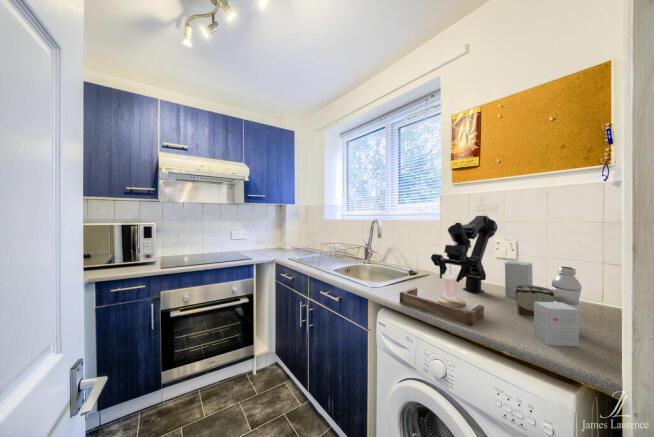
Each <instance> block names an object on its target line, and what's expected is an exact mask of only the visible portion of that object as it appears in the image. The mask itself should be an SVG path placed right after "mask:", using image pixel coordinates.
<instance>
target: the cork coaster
mask: <svg viewBox="0 0 654 437" xmlns="http://www.w3.org/2000/svg"><path fill="white" fill-rule="evenodd" d="M437 302H438V303H442V304H445V305H448V306H452V307H455V308H463V307H465V306H466V302H465V301H464V300H462V299H460V298H456V299H455V300H451V299H446V298H445V297H444V296H440V297H438V298H437Z"/></svg>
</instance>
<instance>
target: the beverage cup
mask: <svg viewBox="0 0 654 437" xmlns="http://www.w3.org/2000/svg"><path fill="white" fill-rule="evenodd" d="M457 276H458V274H457V275H456V274H453V273H452V264H449V273H445V274H443V275H442V288H443V289H442V290H443V297H445V298H446V299H451V300H455V299H456V298H457V296H458V285H459V284H458V283H459V282H457V281H456V280H457ZM457 299H458V298H457Z"/></svg>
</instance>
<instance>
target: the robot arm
mask: <svg viewBox="0 0 654 437" xmlns="http://www.w3.org/2000/svg"><path fill="white" fill-rule="evenodd" d="M497 231H498V224H497V222H496V221H495V220H493V219H491V218H489V216H487V215H476V216H475V217H474V218H473V219H472V220H471V221H469V222H468V223H466V224H462V223H461V222H455V223H454V224H452V225H451V226H449V227H448V228H447V232H448V234H449V236H450V238H451V240H452V241H453V244H454V245H453V244H445V247H444V252H443V253H445V254H446V257H447V258H445V257H444V256H443V254H439V253H433V254H431V257H430V260H431V262H432V263H433V264H434V266H436V267H437V266H438V267H439V278H440V280H441V279H442V280H443V278H442V275H443V274H446V272H447V270H448V267H447V266H446V265H450V264H451V266H452V265H453V266H457V267H460V270H459V272H458V274H457V280H456V281H457V282H458V283H459V282H460V281H462V280H463V279H464V278H465V287H463V288H462V290H463V291H468V292H469V293H473V294H478V293H479V294H480V293H484V292H485V290H484V289H482V281H486V280H487V273H486V271H485V269H484V265H483V263H482V260H483V258H484V255H485V252H486V249H487V245H488V242H489V240H490V239H491V238H492V237H494V236H495V234H496V232H497ZM475 239H476V240H475ZM471 240H475V243H474V246H473V248H472V245H471V244H472V242H471ZM471 248H472V252H471V254H470V256H468V252H469V249H471Z"/></svg>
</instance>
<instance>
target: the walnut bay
mask: <svg viewBox="0 0 654 437" xmlns="http://www.w3.org/2000/svg"><path fill="white" fill-rule="evenodd" d="M399 303H401V304H405V305H407V306H411V307H413V308H416V309H420V310H421V311H425V312H428V313H431V314H435V315H437V316H440V317H441V318H446V319H448V320H452V321H455V322H457V321H458V323H460V324H463V325H467V326H469V327H472V326H474V325H475V324H476V323H478V322H479V321H481V320H482V319H483V318H484V317H485V316H484V314H485V313H484V312H485V305H482V304H478V305H476V306H475V307H473V308H471V309H470V310H465V309H462V308H460V307H452V306H448V305H445V304H442V303H440V302H439V301H434V300H432V299H431V300H430V299H427V298H424V297H421V296H418V288H417V287H415V286H414V287H411V288H408V289H406V290H403V291H400V292H399Z"/></svg>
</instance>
